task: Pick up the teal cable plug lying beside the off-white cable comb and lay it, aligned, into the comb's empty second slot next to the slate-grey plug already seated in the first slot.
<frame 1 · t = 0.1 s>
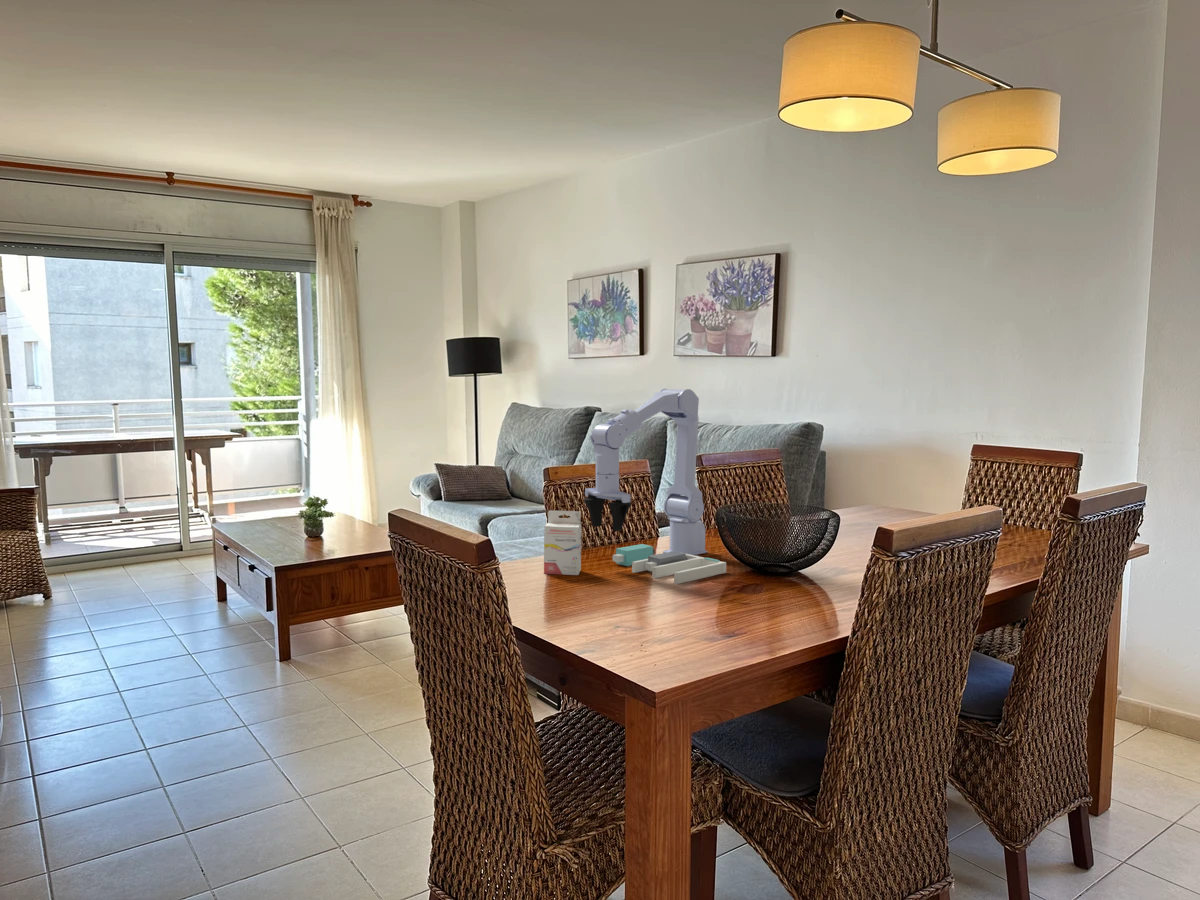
hand: (607, 528, 201), 10 cm above the table, fingers open, 7 cm apart
ink cartridge box: (562, 573, 198), on the table
grey plug: (666, 571, 201), resting in cable comb
cable comb: (680, 572, 199), on the table
teal plug: (634, 562, 210), on the table
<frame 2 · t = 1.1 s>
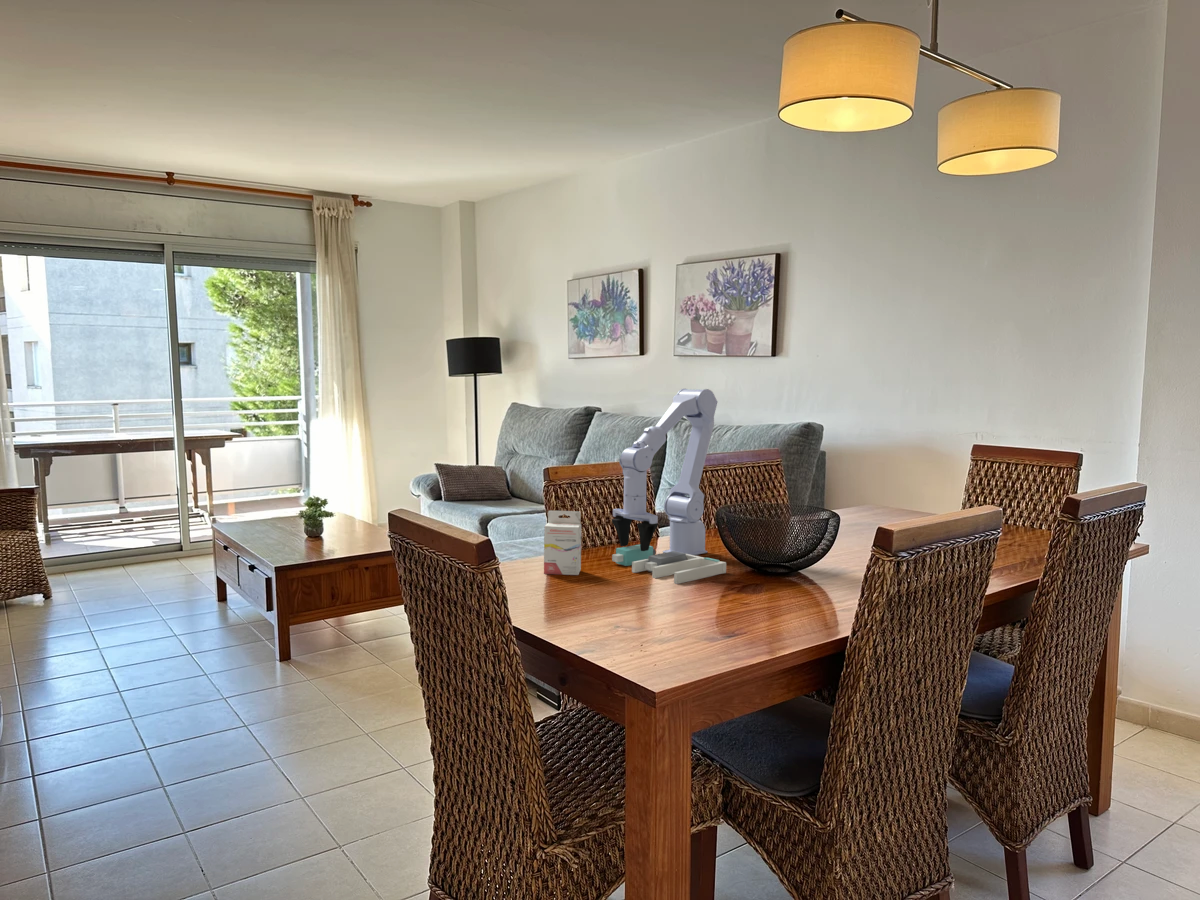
hand: (634, 548, 209), 4 cm above the table, fingers open, 7 cm apart
nothing on the table moved.
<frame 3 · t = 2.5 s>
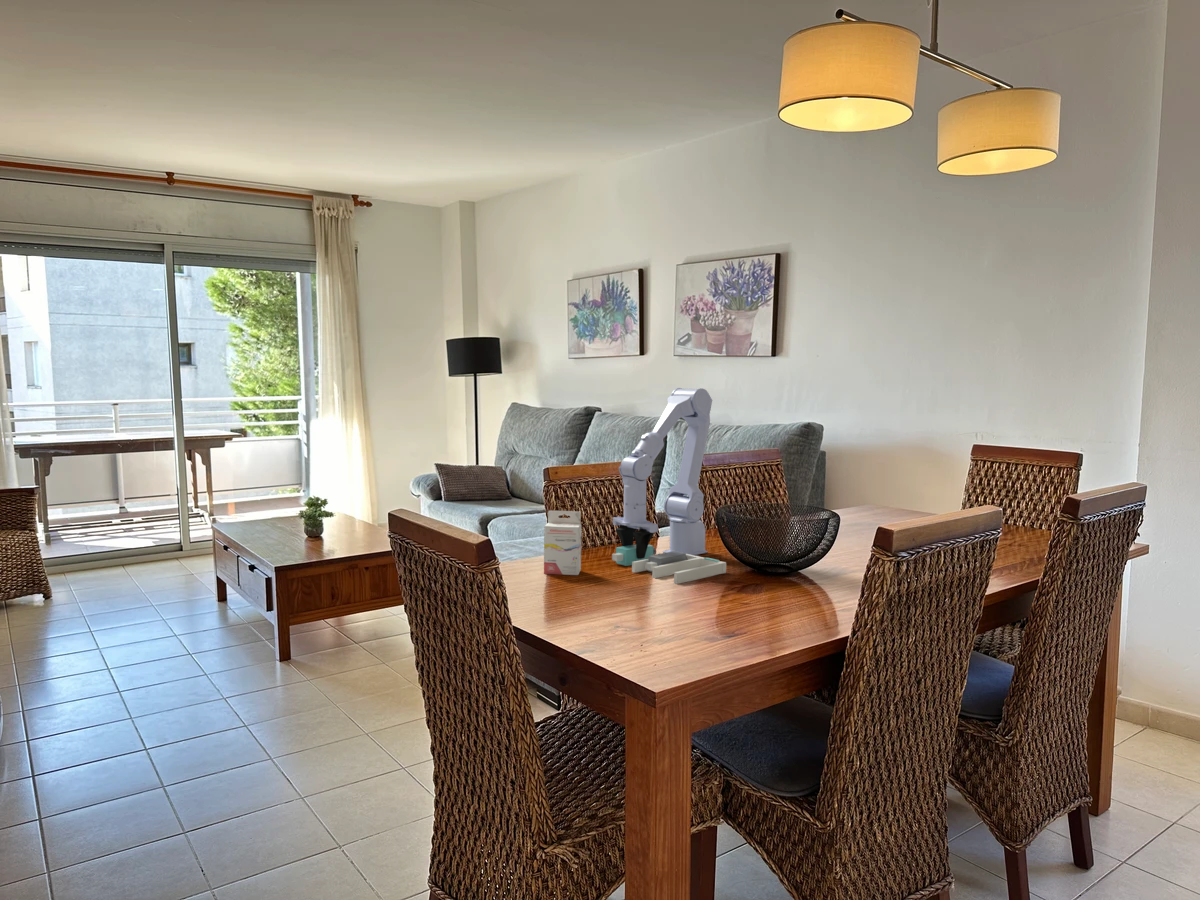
hand: (634, 556, 210), 1 cm above the table, fingers closed on teal plug, 4 cm apart
teal plug: (634, 562, 210), on the table, touching gripper
everything else where it was.
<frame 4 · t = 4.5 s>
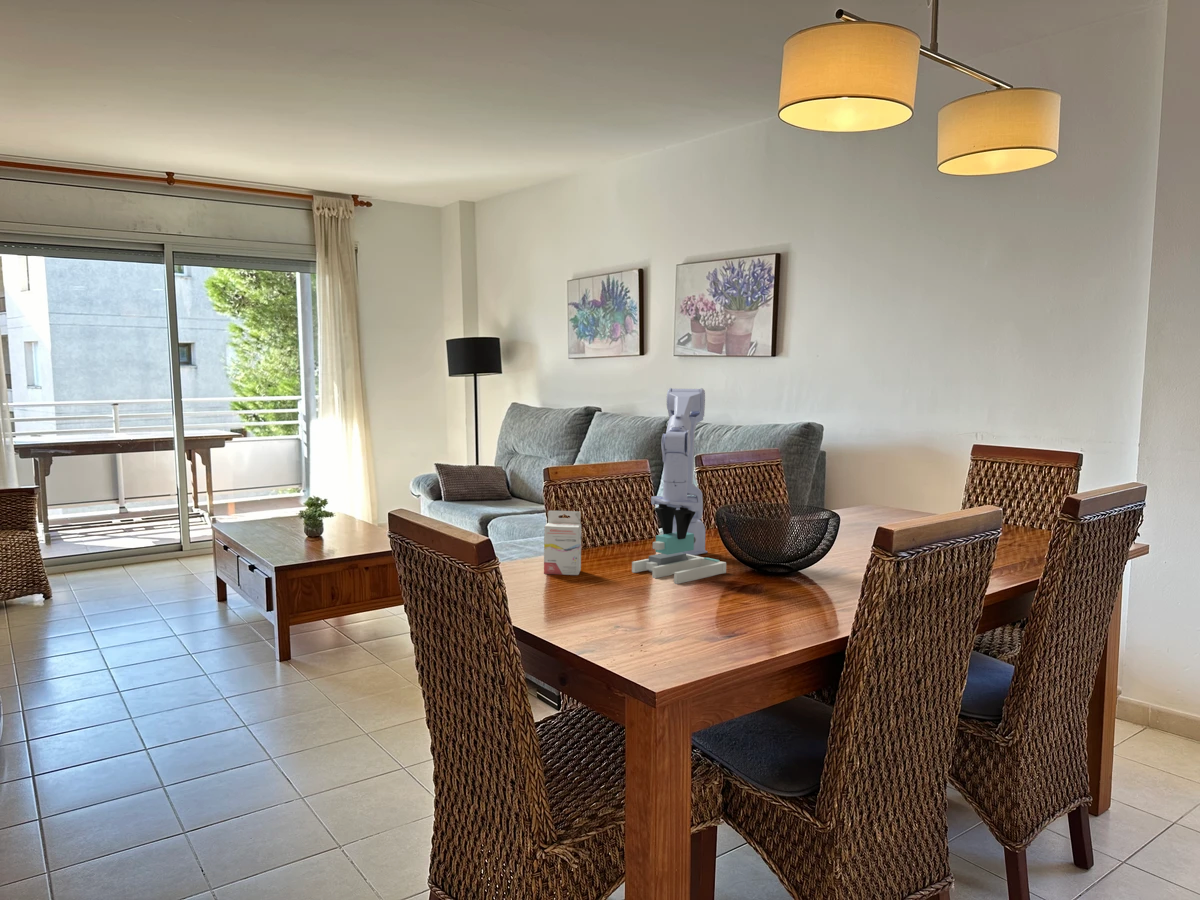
hand: (674, 537, 198), 8 cm above the table, fingers closed on teal plug, 4 cm apart
teal plug: (674, 550, 199), point 5 cm above the table, touching gripper
everything else where it was.
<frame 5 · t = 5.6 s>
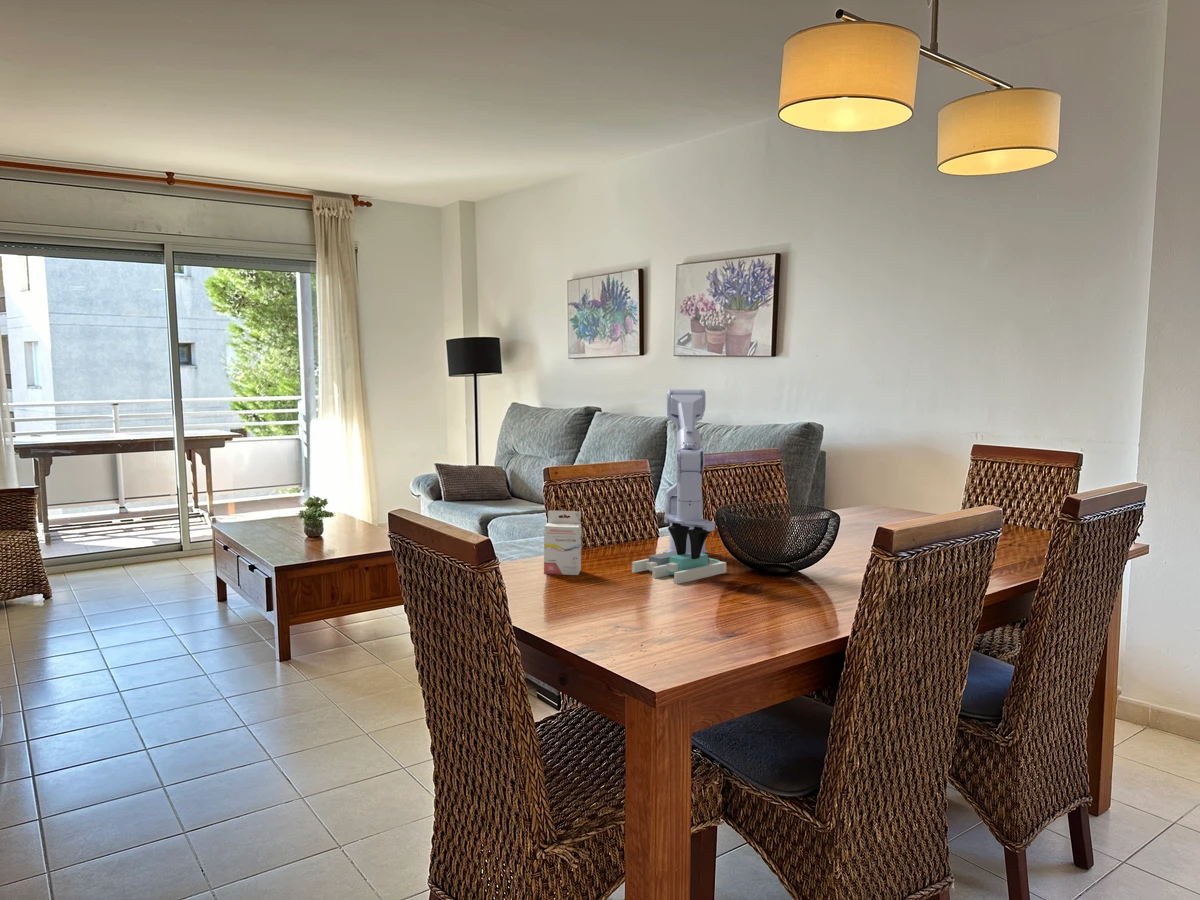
hand: (688, 556, 196), 4 cm above the table, fingers closed on teal plug, 4 cm apart
teal plug: (688, 572, 196), point 1 cm above the table, touching gripper
everything else where it was.
when the fingers open (3 cm above the table, at t = 6.6 s): teal plug stays where it is, resting in cable comb.
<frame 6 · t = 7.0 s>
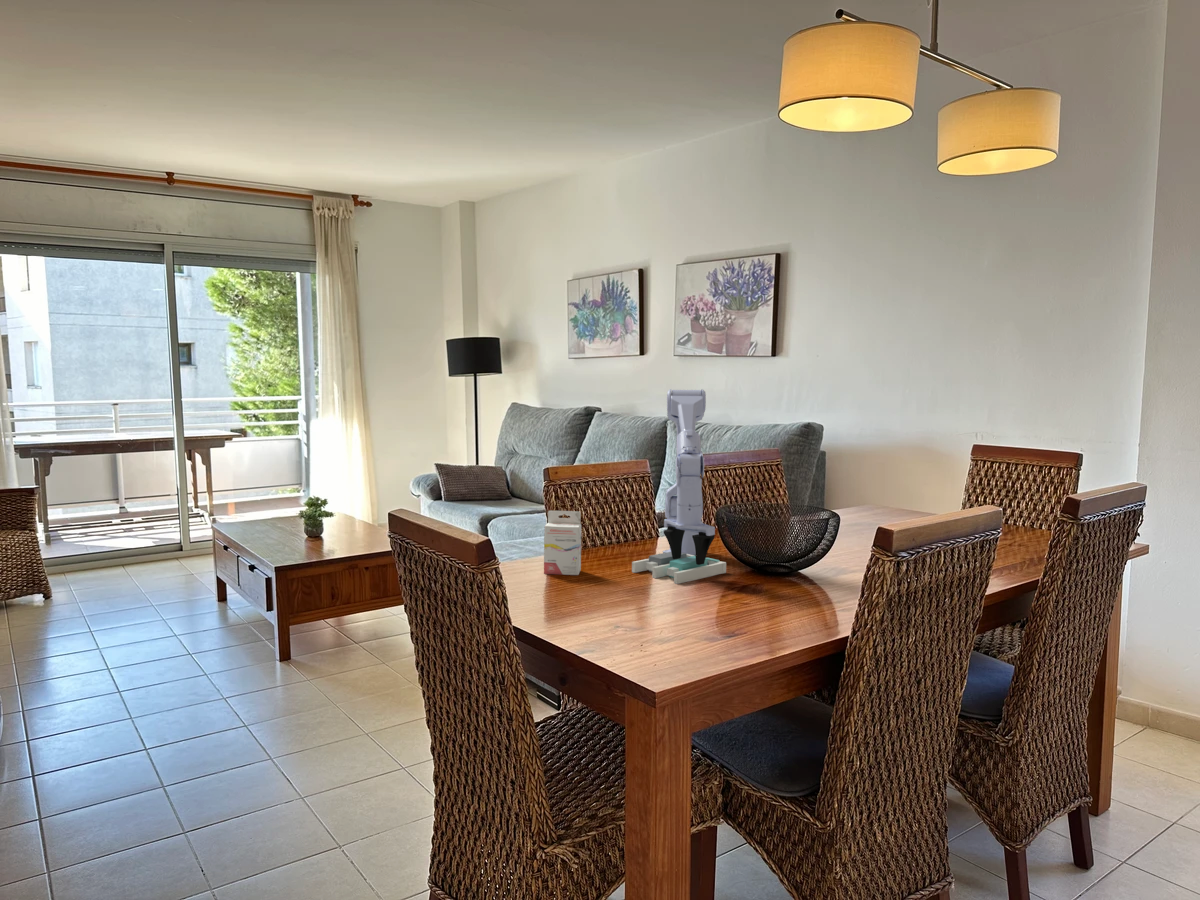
hand: (688, 561, 196), 3 cm above the table, fingers open, 7 cm apart
teal plug: (688, 576, 196), resting in cable comb
everything else where it was.
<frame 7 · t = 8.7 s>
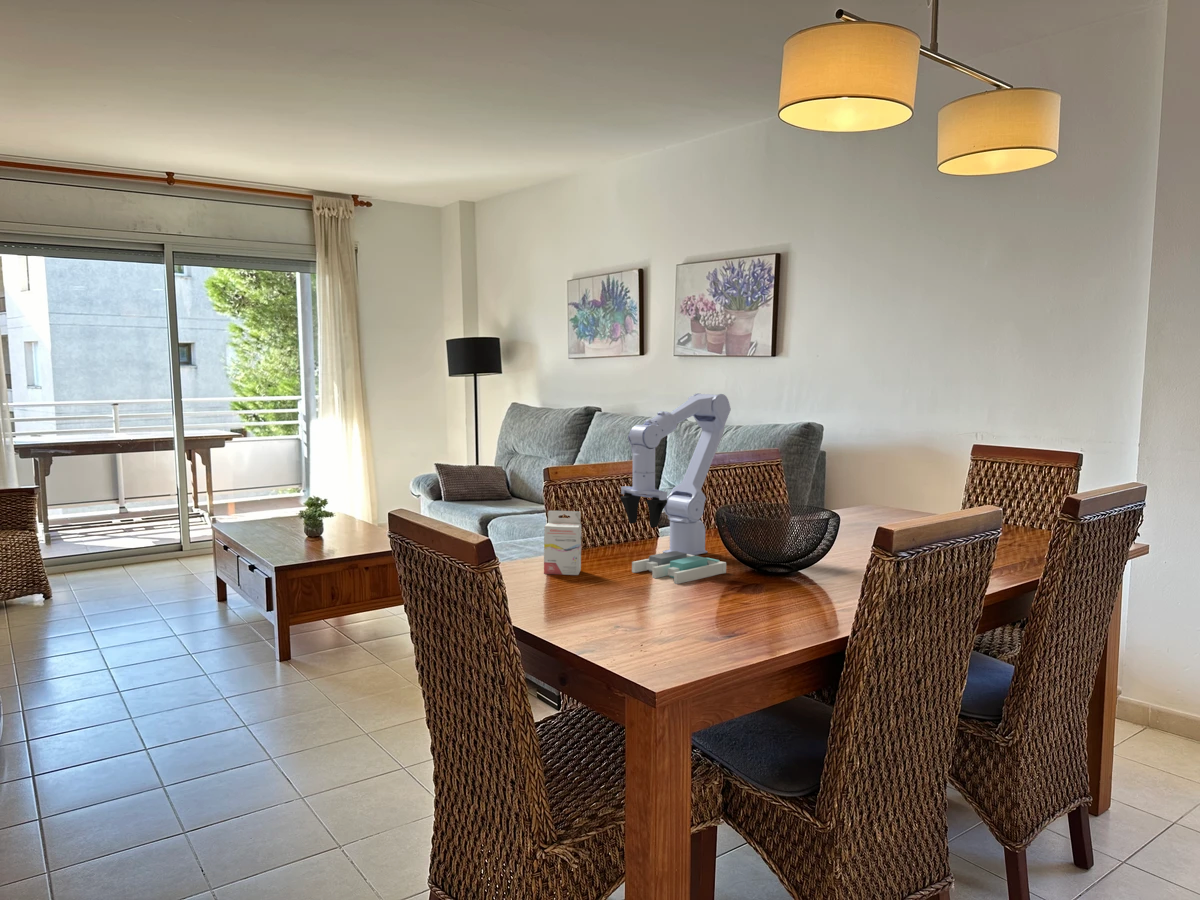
hand: (643, 525, 210), 9 cm above the table, fingers open, 7 cm apart
nothing on the table moved.
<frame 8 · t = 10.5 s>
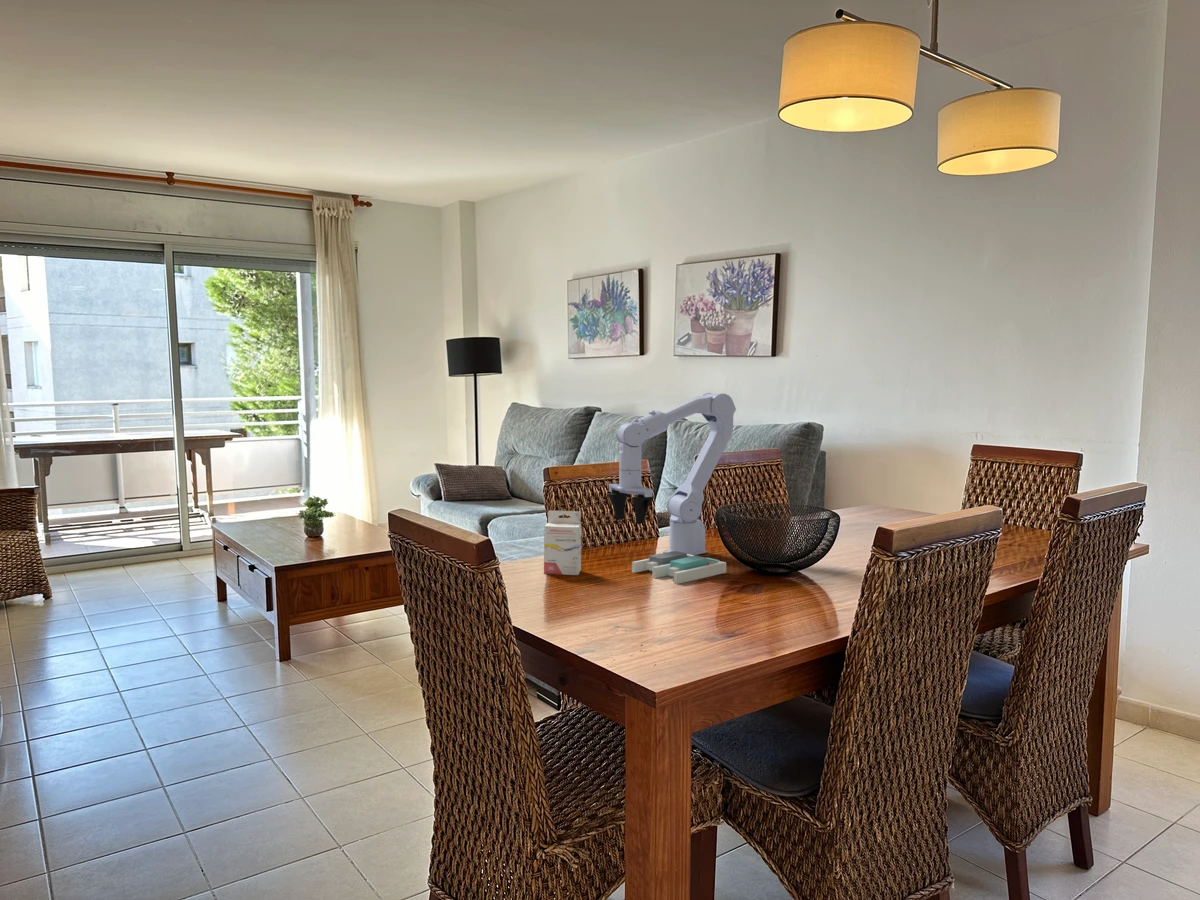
hand: (629, 521, 215), 9 cm above the table, fingers open, 7 cm apart
nothing on the table moved.
at the end: teal plug 0.2 cm from the target spot on the cable comb, point 0.0 cm above the cable comb's base; teal plug tilted 0°; grey plug moved 0.5 cm from its start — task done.
